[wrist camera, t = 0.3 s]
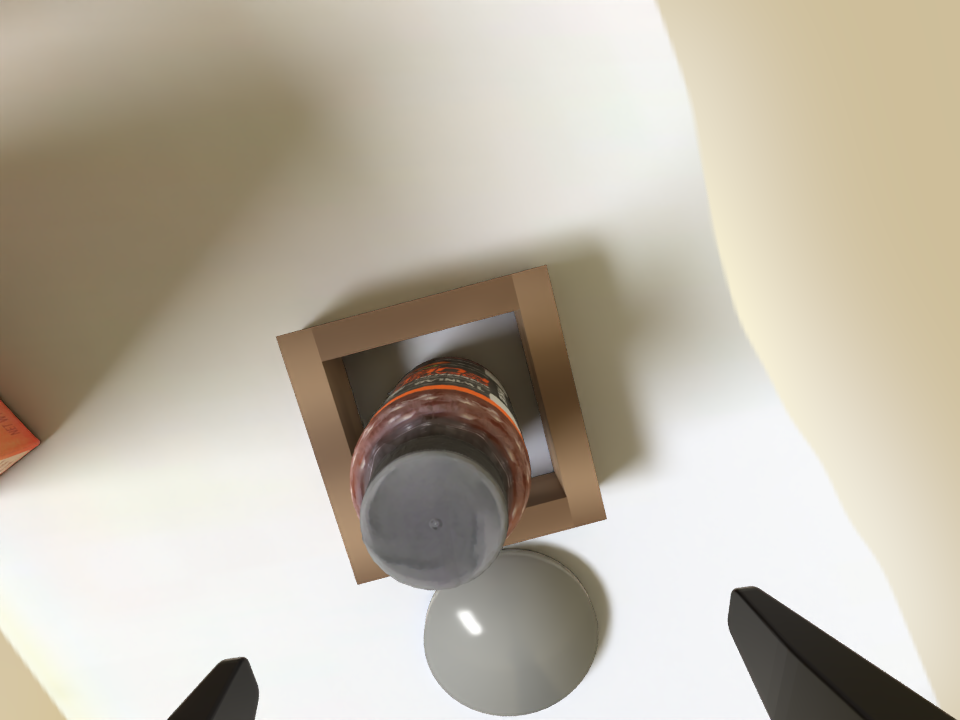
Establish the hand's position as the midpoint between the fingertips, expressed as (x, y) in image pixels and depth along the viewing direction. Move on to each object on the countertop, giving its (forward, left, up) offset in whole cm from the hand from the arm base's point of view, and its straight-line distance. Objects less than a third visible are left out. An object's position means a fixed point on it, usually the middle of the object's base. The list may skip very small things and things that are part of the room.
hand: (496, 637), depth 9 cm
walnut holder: (0, +1, -15) cm, 15 cm away
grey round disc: (-9, -7, -15) cm, 19 cm away
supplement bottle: (0, +1, -15) cm, 15 cm away
